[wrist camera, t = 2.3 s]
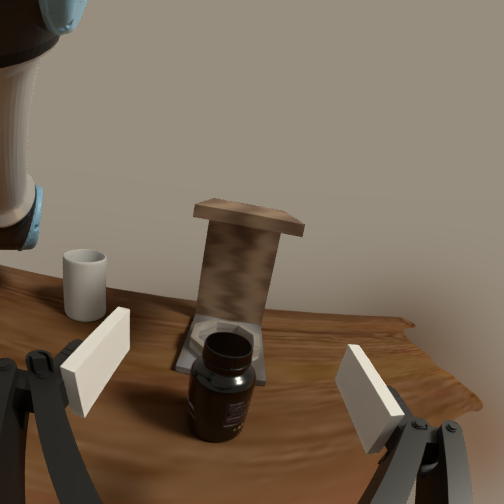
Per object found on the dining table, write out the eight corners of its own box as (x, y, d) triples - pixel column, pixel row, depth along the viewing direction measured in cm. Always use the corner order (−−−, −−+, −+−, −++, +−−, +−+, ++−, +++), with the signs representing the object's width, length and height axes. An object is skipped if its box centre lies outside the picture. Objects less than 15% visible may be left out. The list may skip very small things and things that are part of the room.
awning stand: (175, 371, 37) (194, 204, 32) (196, 315, 56) (214, 198, 51) (264, 386, 38) (304, 224, 33) (259, 326, 57) (284, 211, 52)
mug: (100, 325, 44) (100, 265, 41) (58, 317, 41) (55, 259, 39) (113, 298, 55) (115, 247, 52) (77, 292, 52) (77, 242, 50)
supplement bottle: (173, 419, 28) (178, 336, 26) (212, 397, 34) (225, 319, 31) (216, 454, 24) (233, 373, 22) (254, 425, 30) (277, 346, 27)
